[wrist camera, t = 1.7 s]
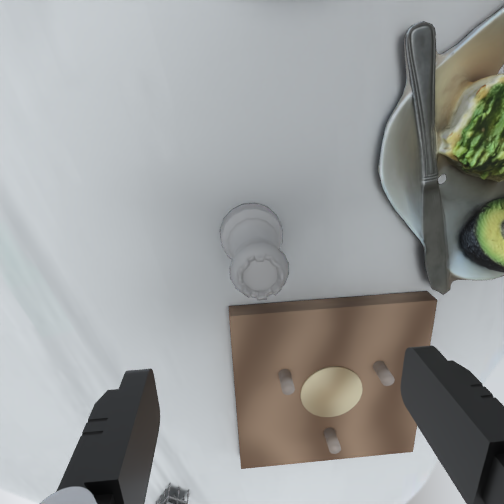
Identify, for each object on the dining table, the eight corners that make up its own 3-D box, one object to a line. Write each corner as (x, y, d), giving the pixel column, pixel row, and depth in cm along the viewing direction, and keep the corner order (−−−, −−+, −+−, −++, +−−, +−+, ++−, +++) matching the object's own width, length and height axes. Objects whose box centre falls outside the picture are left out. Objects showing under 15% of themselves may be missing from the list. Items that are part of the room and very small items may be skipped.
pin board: (426, 291, 29) (451, 312, 26) (405, 438, 35) (422, 469, 32) (228, 306, 28) (229, 329, 25) (240, 454, 34) (242, 488, 31)
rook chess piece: (244, 271, 27) (252, 330, 20) (207, 226, 26) (199, 272, 18) (292, 236, 26) (320, 284, 19) (257, 188, 25) (271, 220, 17)
